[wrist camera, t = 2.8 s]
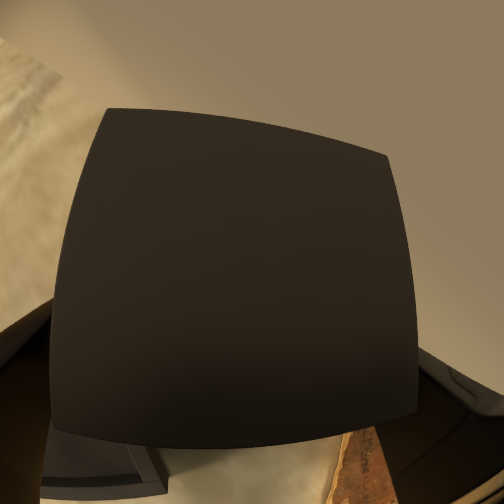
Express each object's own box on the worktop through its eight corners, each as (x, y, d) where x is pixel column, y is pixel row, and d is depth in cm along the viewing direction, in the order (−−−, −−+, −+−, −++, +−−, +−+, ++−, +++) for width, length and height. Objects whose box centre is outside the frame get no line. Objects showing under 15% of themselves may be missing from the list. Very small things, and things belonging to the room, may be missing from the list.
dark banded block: (245, 370, 16) (419, 414, 4) (148, 366, 14) (49, 432, 2) (246, 285, 17) (389, 153, 5) (152, 278, 16) (104, 105, 4)
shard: (346, 381, 17) (361, 383, 15) (420, 383, 18) (436, 383, 16) (312, 515, 13) (323, 526, 11) (391, 499, 14) (404, 506, 12)
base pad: (168, 477, 12) (168, 494, 10) (31, 484, 9) (18, 495, 7) (115, 321, 15) (105, 318, 13) (-16, 345, 11) (-35, 343, 9)
